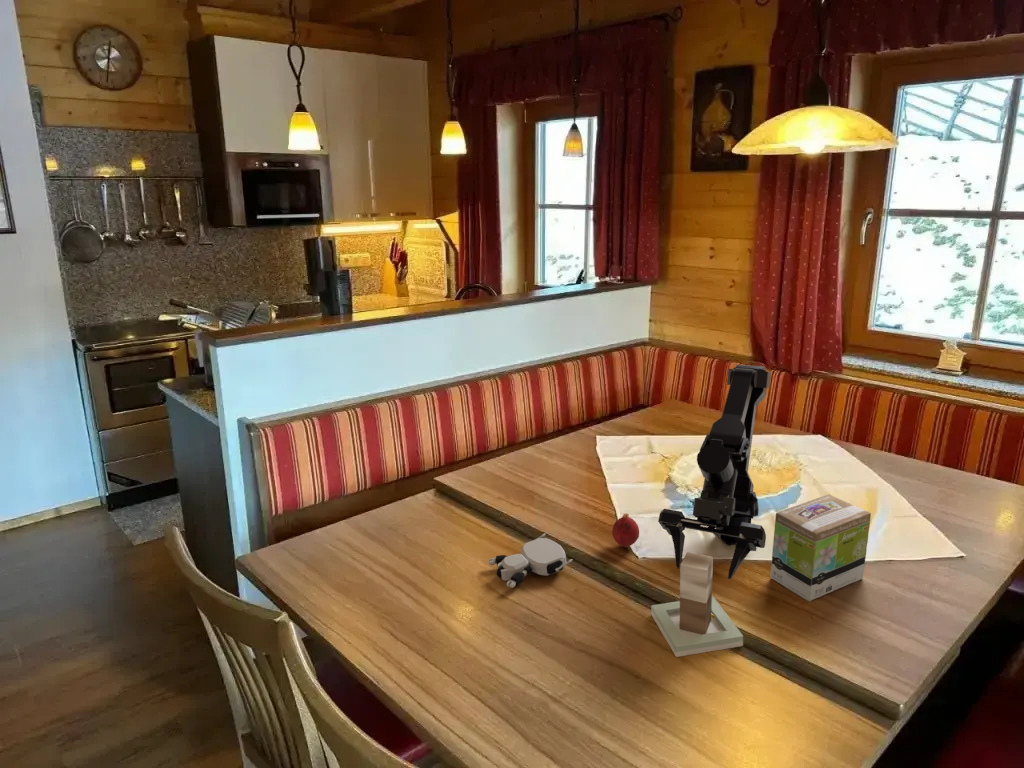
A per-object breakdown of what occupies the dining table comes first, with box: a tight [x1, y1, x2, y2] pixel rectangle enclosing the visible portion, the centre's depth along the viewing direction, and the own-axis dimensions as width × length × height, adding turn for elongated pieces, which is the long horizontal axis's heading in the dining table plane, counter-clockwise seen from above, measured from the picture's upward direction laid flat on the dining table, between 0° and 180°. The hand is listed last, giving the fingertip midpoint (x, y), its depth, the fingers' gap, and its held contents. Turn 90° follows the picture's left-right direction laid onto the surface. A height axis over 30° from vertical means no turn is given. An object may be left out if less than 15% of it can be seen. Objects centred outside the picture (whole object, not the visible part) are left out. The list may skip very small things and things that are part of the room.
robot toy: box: [488, 533, 574, 588], centre depth 146 cm, size 12×4×15 cm
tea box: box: [769, 494, 872, 602], centre depth 136 cm, size 15×10×15 cm, turn 117°
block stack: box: [679, 551, 714, 635], centre depth 123 cm, size 4×4×13 cm
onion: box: [611, 512, 640, 548], centre depth 152 cm, size 6×6×8 cm
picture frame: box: [650, 595, 744, 658], centre depth 125 cm, size 12×12×2 cm
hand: (703, 573), depth 128 cm, fingers open, 9 cm apart
